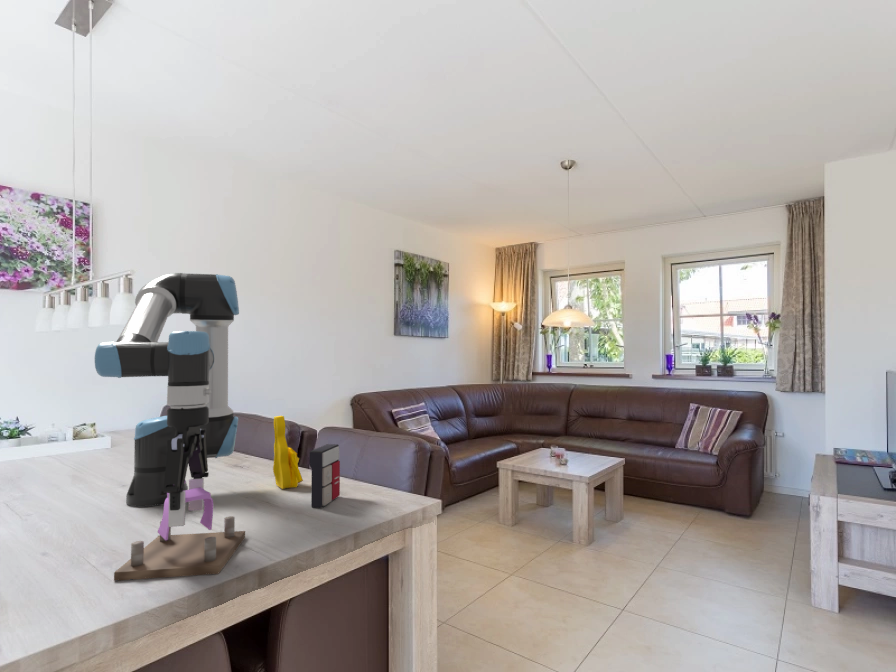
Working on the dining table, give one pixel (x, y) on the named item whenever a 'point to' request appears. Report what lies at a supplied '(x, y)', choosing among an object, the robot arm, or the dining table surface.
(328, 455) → the grey and red block
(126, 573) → the peg stand
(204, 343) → the robot arm
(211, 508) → the toy chair
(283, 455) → the figure statuette
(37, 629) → the dining table surface
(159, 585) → the dining table surface
